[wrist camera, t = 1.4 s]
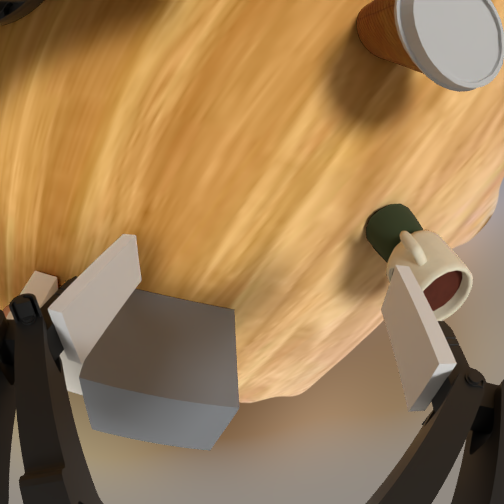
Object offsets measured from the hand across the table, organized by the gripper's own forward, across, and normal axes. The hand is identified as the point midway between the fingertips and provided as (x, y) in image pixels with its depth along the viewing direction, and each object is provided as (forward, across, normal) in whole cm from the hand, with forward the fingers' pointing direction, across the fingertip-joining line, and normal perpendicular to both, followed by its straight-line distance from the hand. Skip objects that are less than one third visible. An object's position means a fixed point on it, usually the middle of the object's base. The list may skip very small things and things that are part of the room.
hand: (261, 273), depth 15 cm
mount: (+17, -14, -22) cm, 31 cm away
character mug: (+21, +13, -4) cm, 25 cm away
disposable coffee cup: (+18, +9, +17) cm, 26 cm away
